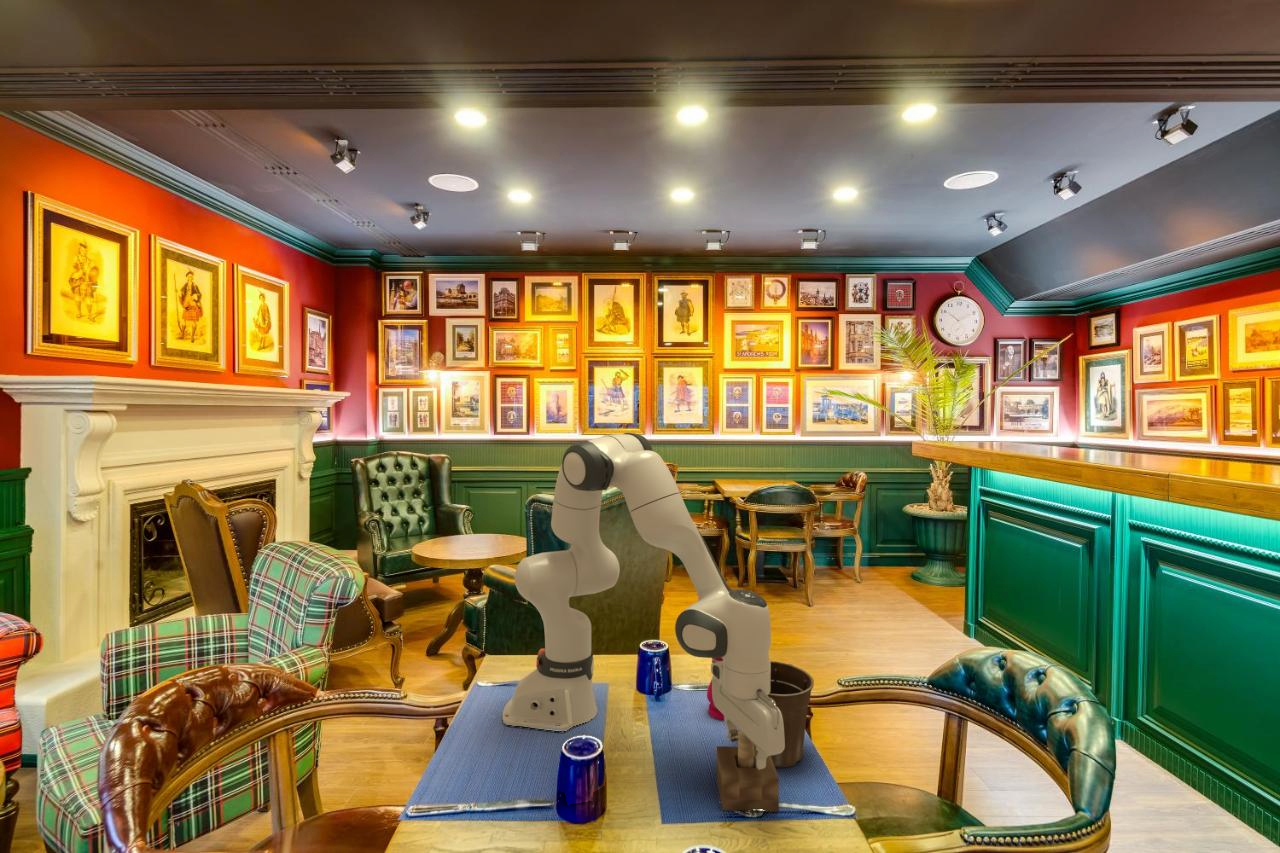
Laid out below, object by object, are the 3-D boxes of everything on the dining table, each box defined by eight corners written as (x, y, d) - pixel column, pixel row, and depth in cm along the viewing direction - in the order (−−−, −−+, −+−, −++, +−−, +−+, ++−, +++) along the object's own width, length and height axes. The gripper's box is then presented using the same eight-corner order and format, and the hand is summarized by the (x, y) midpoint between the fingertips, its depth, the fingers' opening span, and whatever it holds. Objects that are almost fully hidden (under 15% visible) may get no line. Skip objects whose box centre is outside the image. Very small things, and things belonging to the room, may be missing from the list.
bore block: (722, 810, 104) (722, 777, 104) (716, 776, 114) (716, 746, 114) (778, 811, 104) (778, 778, 104) (767, 777, 114) (767, 747, 114)
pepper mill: (736, 707, 142) (736, 625, 142) (738, 722, 135) (738, 636, 135) (706, 705, 143) (707, 624, 143) (707, 720, 136) (707, 635, 136)
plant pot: (827, 772, 116) (827, 691, 116) (749, 778, 113) (749, 696, 113) (794, 729, 132) (794, 658, 132) (725, 734, 130) (725, 662, 129)
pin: (740, 787, 107) (740, 733, 107) (735, 778, 110) (736, 725, 110) (756, 786, 108) (756, 732, 108) (750, 777, 111) (751, 724, 111)
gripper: (794, 701, 100) (793, 781, 100) (734, 656, 119) (733, 723, 119) (762, 707, 98) (762, 789, 98) (706, 660, 117) (706, 729, 117)
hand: (745, 752), depth 109 cm, fingers open, 8 cm apart
